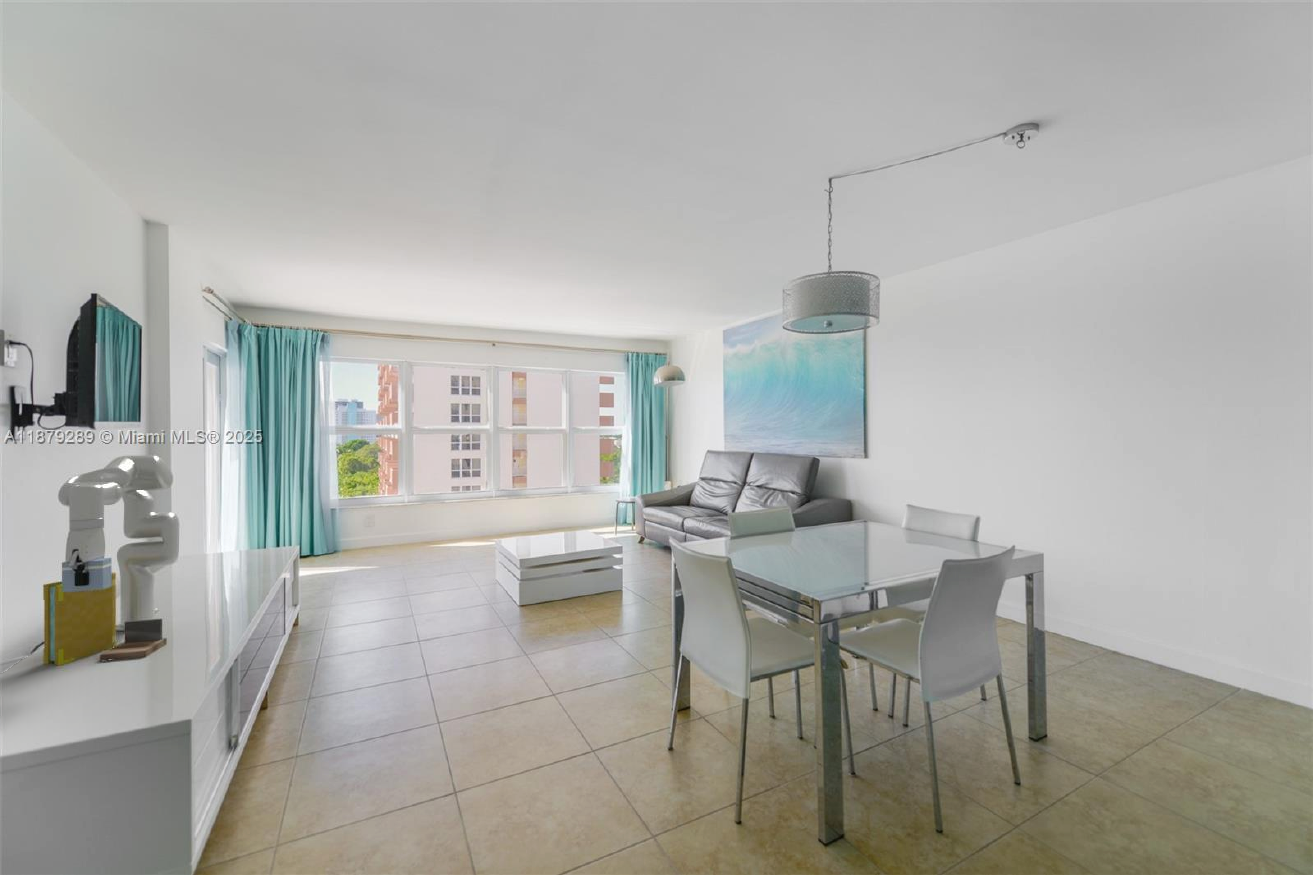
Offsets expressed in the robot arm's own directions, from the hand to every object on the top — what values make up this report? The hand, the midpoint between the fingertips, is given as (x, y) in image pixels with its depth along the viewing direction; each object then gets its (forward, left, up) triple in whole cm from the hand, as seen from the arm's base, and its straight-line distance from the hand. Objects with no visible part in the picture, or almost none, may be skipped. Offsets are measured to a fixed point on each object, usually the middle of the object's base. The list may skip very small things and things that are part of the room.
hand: (87, 583), depth 171 cm
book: (-15, -9, -27) cm, 32 cm away
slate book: (0, 0, -2) cm, 2 cm away
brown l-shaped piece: (-12, +6, -26) cm, 30 cm away
